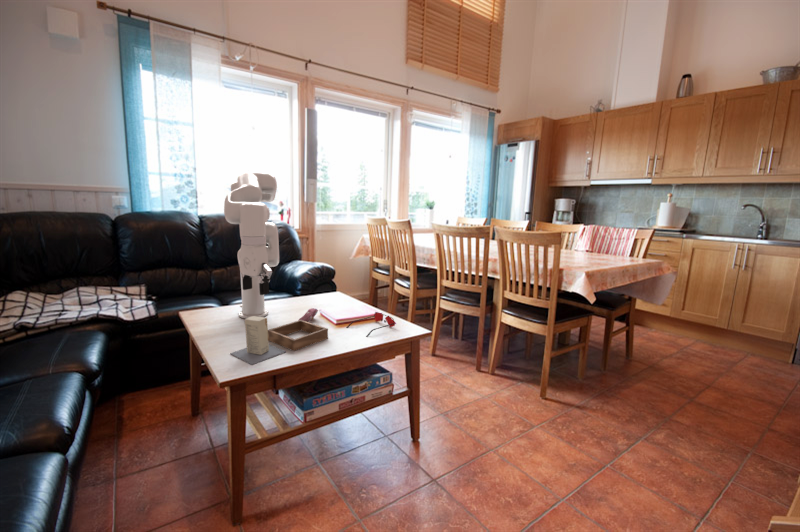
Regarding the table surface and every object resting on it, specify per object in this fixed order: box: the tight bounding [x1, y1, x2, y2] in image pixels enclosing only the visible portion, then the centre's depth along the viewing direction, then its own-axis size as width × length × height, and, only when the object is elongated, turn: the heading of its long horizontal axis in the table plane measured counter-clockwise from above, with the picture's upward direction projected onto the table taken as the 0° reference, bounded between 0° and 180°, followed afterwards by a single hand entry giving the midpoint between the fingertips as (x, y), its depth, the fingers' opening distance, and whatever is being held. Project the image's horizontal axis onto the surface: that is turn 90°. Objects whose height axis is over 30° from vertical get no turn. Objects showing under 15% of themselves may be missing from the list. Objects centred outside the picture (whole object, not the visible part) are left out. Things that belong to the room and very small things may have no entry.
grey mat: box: [230, 343, 286, 366], centre depth 126 cm, size 13×13×1 cm
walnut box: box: [268, 319, 329, 352], centre depth 140 cm, size 16×16×4 cm
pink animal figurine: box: [297, 307, 319, 323], centre depth 160 cm, size 10×5×7 cm, turn 169°
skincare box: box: [244, 316, 270, 355], centre depth 126 cm, size 6×4×12 cm
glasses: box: [346, 311, 397, 338], centre depth 155 cm, size 14×16×5 cm
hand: (255, 291), depth 122 cm, fingers open, 9 cm apart
